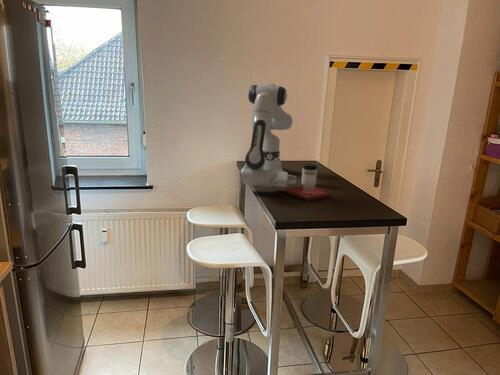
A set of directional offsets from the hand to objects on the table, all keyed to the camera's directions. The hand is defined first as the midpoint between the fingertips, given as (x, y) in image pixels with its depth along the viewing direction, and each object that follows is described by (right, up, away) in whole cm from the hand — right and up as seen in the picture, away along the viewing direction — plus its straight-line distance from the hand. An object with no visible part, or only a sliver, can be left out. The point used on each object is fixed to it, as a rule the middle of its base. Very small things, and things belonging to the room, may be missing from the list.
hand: (296, 179), depth 208 cm
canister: (+7, -6, +1) cm, 9 cm away
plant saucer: (+6, -9, +2) cm, 11 cm away
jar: (+10, -2, +24) cm, 27 cm away
